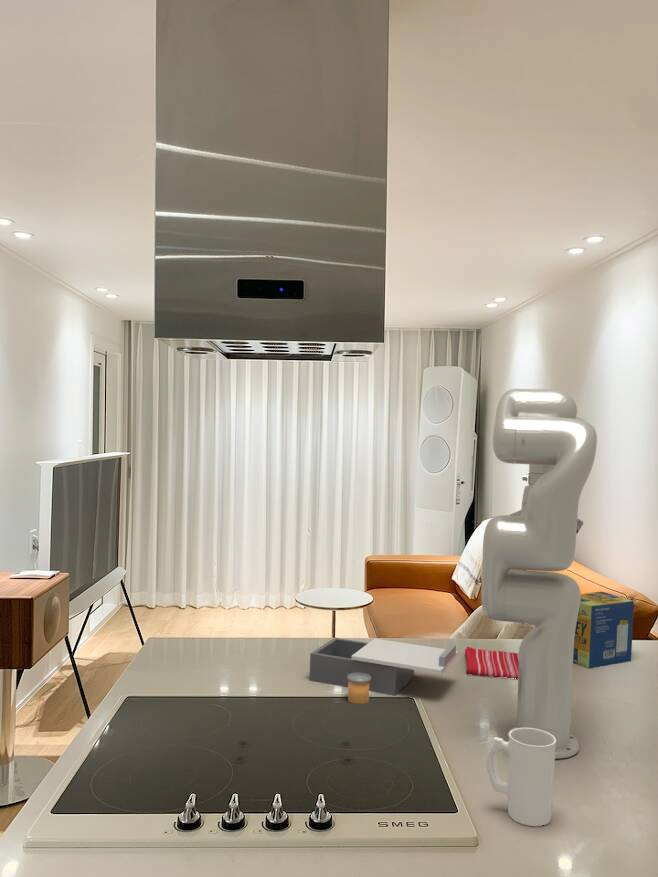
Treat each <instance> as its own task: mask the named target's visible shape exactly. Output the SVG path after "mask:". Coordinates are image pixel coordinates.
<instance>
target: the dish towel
mask: <svg viewBox="0 0 658 877" xmlns="http://www.w3.org/2000/svg"><path fill="white" fill-rule="evenodd" d="M464 655H465V658H466V671H465V673H467V674H466V675H468V674H472V675H471V676H477V675H479V676H478V677H485V676H493V677H492V678H496V677H507V678H514V679H513V680H517V679H518V670H519V652H509V651H500V650H493V651H492V650H488V649H479V648H474V647H470V646H466V648H465V650H464ZM515 678H516V679H515Z"/></svg>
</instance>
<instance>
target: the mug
mask: <svg viewBox="0 0 658 877" xmlns="http://www.w3.org/2000/svg"><path fill="white" fill-rule="evenodd" d="M555 744H556V738H555V737H554V736H553V735H552V734H550V733H548V732H546V731H543V730H540V729H535V728H516V729H513V730H511V731H510V732H509V741H508V740H507V741H505V740H504V738H501V737H498V736H494V739H493V742H492V743H491V745H490V747H489V748H488V751H487V754H486V758H485V759H486V760H485V764H486V770H487V774H488V777H489V780H490V783H491V786H492V789H493V791H494V792H497V793H498V792H499V793H502V794H504V795H506V797H507V798H508V799H507V800H508V801H507V802H508V804H507V810H508V811H507V813H508V815H509V817H510V818H511V819H512V821H515V822H516V823H518V824H520V825H524V826H528V827H543V826H542V825H544V826H547V825H548V824H549V823H550V822H551V820H552V812H553V809H552V808H553V797H554V794H553V793H554V776H555V761H556V759H555ZM501 750H504V751H506V752H507V753H508V781H503V780H500V778H499V777H498V776H497V774H496V770H495V767H494V758H495V755H496V753H498V751H501Z"/></svg>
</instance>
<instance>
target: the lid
mask: <svg viewBox="0 0 658 877" xmlns="http://www.w3.org/2000/svg"><path fill="white" fill-rule="evenodd" d="M367 643H368V644H367V645H365V646H364V647H363V648H361V649H360V650H359V651H357V652H356V653H355V654H353V655H352V657H351V660H357V661H363V662H370V663H376V664H382V665H388V666H394V667H400V668H406V669H412V670H414V671H418V672H419V671H420V672H426V673H433V674H438V675H442V674H443V673H444V672H445V670H446V669H447V668H448V667H449V666H450V665H451V664H452V662H453V661H454V660H456V658H457V657H458V655H459V650H457V644H452V643H450V645H449V646H448V647H447V648H441V647H440V648H439V647H433V646H428V645H426V646H425V645H421V644H413V643H407V642H402V641H401V642H400V641H393V640H385V639H381V638H380V639H379V638H373V639H372V640H371V641H370V642H367Z"/></svg>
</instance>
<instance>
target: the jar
mask: <svg viewBox="0 0 658 877" xmlns="http://www.w3.org/2000/svg"><path fill="white" fill-rule="evenodd" d="M347 680H348V687H347V688H348V689H347V690H348V691H347V701H348V702H349V703H350V704H351V703H352V704H355V705H365V704H367V703H369V702H370V691H369V685H370V681H371V676H370V675H369V674H366V673H360V672H355V673H350V674H348V675H347Z"/></svg>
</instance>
